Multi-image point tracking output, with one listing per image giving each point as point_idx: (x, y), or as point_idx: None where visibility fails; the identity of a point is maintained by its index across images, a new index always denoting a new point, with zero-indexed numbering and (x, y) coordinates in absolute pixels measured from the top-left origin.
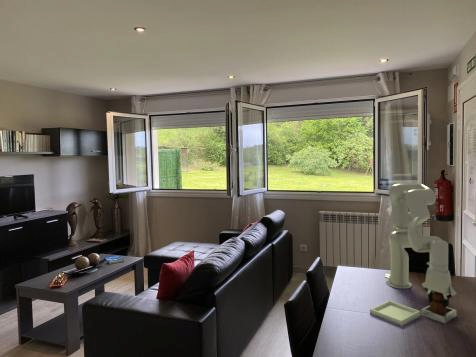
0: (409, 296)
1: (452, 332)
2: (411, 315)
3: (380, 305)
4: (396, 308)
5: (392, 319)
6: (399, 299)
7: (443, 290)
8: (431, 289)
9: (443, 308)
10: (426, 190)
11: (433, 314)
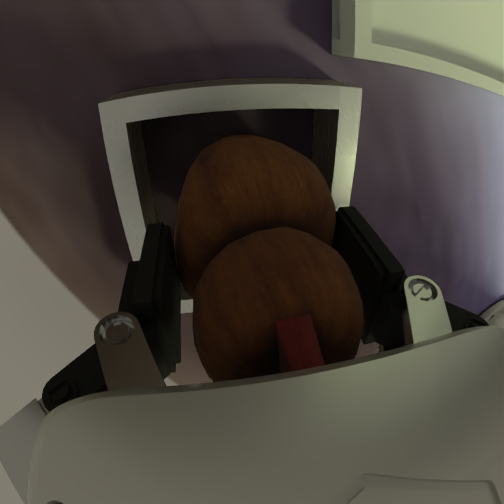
0: (456, 285)
1: (5, 28)
2: None
3: None
4: (487, 47)
5: None
6: (491, 217)
7: (87, 473)
8: (427, 353)
9: (176, 223)
10: None
11: (223, 84)
